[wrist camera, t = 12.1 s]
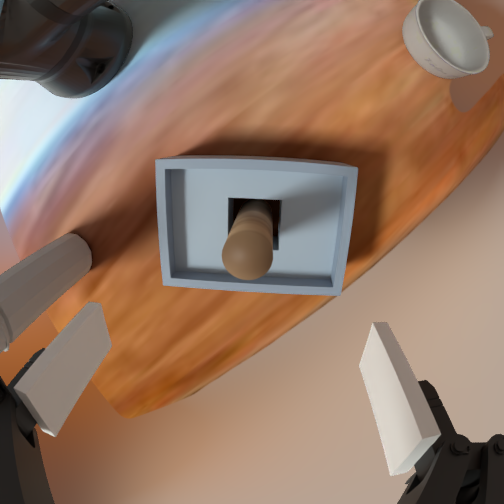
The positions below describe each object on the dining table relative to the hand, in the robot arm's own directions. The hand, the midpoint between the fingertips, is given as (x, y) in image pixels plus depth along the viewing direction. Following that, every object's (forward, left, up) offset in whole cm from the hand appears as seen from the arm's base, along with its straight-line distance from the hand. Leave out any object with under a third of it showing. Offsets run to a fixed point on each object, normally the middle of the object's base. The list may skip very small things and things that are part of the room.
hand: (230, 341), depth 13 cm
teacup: (-26, +24, -25) cm, 43 cm away
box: (0, 0, -24) cm, 25 cm away
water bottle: (+7, -28, -25) cm, 38 cm away
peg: (0, 0, -24) cm, 25 cm away
